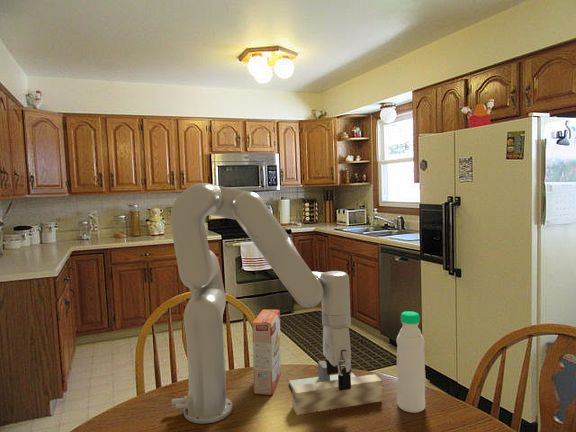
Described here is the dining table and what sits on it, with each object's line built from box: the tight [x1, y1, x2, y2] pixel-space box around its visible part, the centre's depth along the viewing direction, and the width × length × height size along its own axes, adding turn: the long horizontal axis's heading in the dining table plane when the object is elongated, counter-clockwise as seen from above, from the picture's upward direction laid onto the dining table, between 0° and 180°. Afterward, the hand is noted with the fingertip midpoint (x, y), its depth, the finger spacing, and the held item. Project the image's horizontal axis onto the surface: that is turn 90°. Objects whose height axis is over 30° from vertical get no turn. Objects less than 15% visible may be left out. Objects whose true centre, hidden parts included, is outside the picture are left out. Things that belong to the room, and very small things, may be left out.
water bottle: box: [396, 311, 426, 414], centre depth 108 cm, size 7×7×25 cm
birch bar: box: [291, 373, 383, 416], centre depth 111 cm, size 24×4×6 cm, turn 104°
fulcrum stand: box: [288, 360, 357, 389], centre depth 123 cm, size 20×6×6 cm, turn 102°
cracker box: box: [251, 309, 282, 396], centre depth 123 cm, size 14×6×21 cm, turn 171°
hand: (338, 381), depth 111 cm, fingers open, 9 cm apart
